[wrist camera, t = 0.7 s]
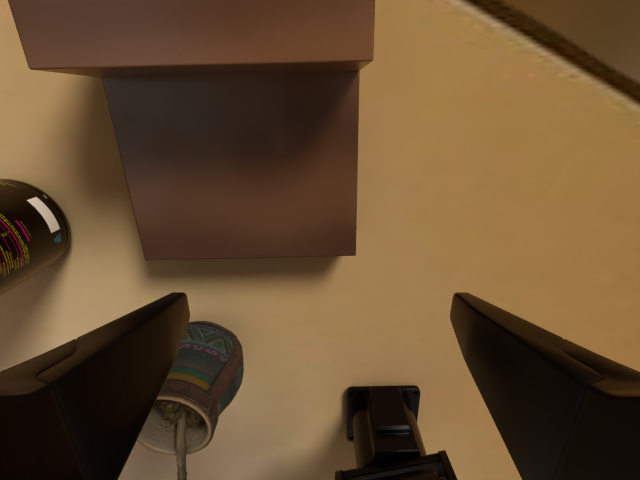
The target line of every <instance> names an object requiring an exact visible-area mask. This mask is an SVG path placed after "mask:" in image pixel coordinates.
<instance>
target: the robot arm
mask: <svg viewBox="0 0 640 480" xmlns="http://www.w3.org/2000/svg"><path fill="white" fill-rule="evenodd" d="M189 319H190V312H189V306H188V300H187V296H186V294H185V293H171V294H169V295H167V296H164V297H162V298H160V299H158V300H156V301H154V302H152V303H150V304H148V305H146V306H143V307H141V308H139V309H137V310H135V311H133V312H131V313H129V314H127V315H125V316H122V317H120V318H118V319H116V320H114V321H112V322H110V323H108V324H106V325H103V326H101V327H99V328H97V329H95V330H93V331H91V332H89V333H87V334H85V335H82V336H80V337H78V338H77V340H76V339H74V340H72V341H70V342H68V343H65V344H63V345H61V346H59V347H57V348H55V349H53V350H50V351H48V352H46V353H44V354H41V355H39V356H37V357H34V358H32V359H30V360H28V361H25V362H23V363H21V364H18V365H16V366H13V367H11V368H9V369H6V370H4V371H1V372H0V480H118V478H119V476H120V474H121V472H122V470H123V468H124V465H125V463H126V461H127V459H128V457H129V455H130V453H131V451H132V449H133V447H134V445H135V443H136V441H137V439H138V437H139V434H140V432H141V430H142V428H143V426H144V424H145V422H146V420H147V418H148V416H149V414H150V412H151V410H152V408H153V406H154V403H155V401H156V399H157V397H158V395H159V393H160V391H161V389H162V387H163V385H164V383H165V381H166V379H167V377H168V375H169V372H170V370H171V368H172V366H173V364H174V362H175V360H176V357H177V354H178V352H179V349H180V346H181V343H182V340H183V337H184V334H185V331H186V329H187V326H188V323H189ZM450 319H451V323H452V326H453V329H454V331H455V334H456V337H457V340H458V343H459V346H460V349H461V352H462V355H463V357H464V360H465V362H466V364H467V366H468V368H469V370H470V372H471V375H472V377H473V379H474V381H475V383H476V385H477V387H478V389H479V391H480V393H481V395H482V397H483V399H484V401H485V403H486V406H487V408H488V410H489V412H490V414H491V416H492V418H493V420H494V422H495V424H496V426H497V428H498V430H499V432H500V434H501V437H502V439H503V441H504V443H505V445H506V447H507V449H508V451H509V453H510V455H511V457H512V459H513V461H514V463H515V466H516V468H517V470H518V472H519V474H520V476H521V478H522V480H640V372H639V371H636V370H634V369H631V368H629V367H627V366H624V365H622V364H619V363H617V362H615V361H612V360H610V359H608V358H606V357H603V356H601V355H599V354H596V353H594V352H592V351H590V350H587V349H585V348H583V347H581V346H579V345H577V344H574V343H572V342H570V341H568V340H566V339H564V340H563V338H562V337H560V336H558V335H555V334H553V333H551V332H549V331H547V330H545V329H543V328H541V327H539V326H537V325H534V324H532V323H530V322H528V321H526V320H524V319H522V318H520V317H518V316H515V315H513V314H511V313H509V312H507V311H505V310H503V309H501V308H499V307H497V306H494V305H492V304H490V303H488V302H486V301H484V300H482V299H480V298H478V297H476V296H473V295H471V294H469V293H455V294H454V296H453V300H452V306H451V312H450ZM413 391H415V392H413ZM352 392H354V393H352ZM419 400H420V390H419V388H418V387H417V386H365V387H350V388H348V389H347V440H348V441H351V442H354V446H355V456H356V465H357V469H352V470H346V471H343V470H339V471H336V473H335V480H457V478H456V475H455V473H454V470H453V468H452V466H451V463H450V461H449V458H448V456H447V454H446V451H445V450H443V451H438V453H435V454H430V455H426V451H425V448H424V445H423V442H422V438H421V435H420V432H419V428H418V425H417V416H418V408H419Z"/></svg>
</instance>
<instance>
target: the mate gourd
mask: <svg viewBox="0 0 640 480" xmlns="http://www.w3.org/2000/svg"><path fill="white" fill-rule="evenodd" d="M243 371H244V368H243V353H242V347H241V344H240V342H239V340H238V339H237V337H236V336H235V335H234V334H233V333H232V332H231V331H229V330H227V329H225V328H224V327H222V326H220V325H218V324H215V323H212V322H206V321H195V322H189V323H188V326H187V329H186V331H185V334H184V337H183V340H182V343H181V346H180V349H179V352H178V354H177V357H176V360H175V362H174V364H173V366H172V368H171V370H170V372H169V375H168V377H167V379H166V381H165V383H164V385H163V387H162V389H161V391H160V393H159V395H158V397H157V399H156V401H155V403H154V406H153V408H152V410H151V412H150V414H149V416H148V418H147V420H146V422H145V424H144V426H143V428H142V430H141V432H140V434H139V437H138V439H137V441H138V442H139V443H141V444H142V445H143V446H145V447H147V448H149V449H151V450H153V451H156V452H159V453H163V454H168V455H177V462H178V463H177V466H178V472H177V473H178V475H177V476H178V480H187V477H186V476H187V472H186V454H191V453H194V452H197V451H199V450H201V449H203V448H204V447H206V446H207V445H208V444H209V442H210V441H211V439H212V437H213V434H214V431H215V428H216V425H217V421H218V416H219V415H220V414H221V413H222V411H223V410H224V409H225V408H226V407H227V406H228V405H229V404H230V403H231V401H232V400H233V398H234V397H235V395H236V393H237V391H238V390H239V388H240V385H241V383H242V378H243Z"/></svg>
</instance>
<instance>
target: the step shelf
mask: <svg viewBox="0 0 640 480" xmlns="http://www.w3.org/2000/svg"><path fill="white" fill-rule="evenodd" d="M8 2H9V5H10V8H11V11H12V15H13V18H14V21H15V24H16V28H17V31H18V34H19V37H20V40H21V44H22V47H23V50H24V53H25V57H26V60H27V63H28V66H29V68H30V69H31V70H39V71H48V72H58V73H67V74H76V75H85V76H95V77H102V81H103V85H104V89H105V93H106V97H107V101H108V106H109V110H110V114H111V118H112V122H113V126H114V131H115V135H116V139H117V143H118V147H119V151H120V156H121V160H122V164H123V168H124V172H125V177H126V181H127V185H128V189H129V193H130V197H131V202H132V206H133V210H134V214H135V218H136V222H137V227H138V231H139V235H140V239H141V243H142V247H143V252H144V256H145V260H175V259H220V258H266V257H312V256H355V255H356V219H357V168H358V117H359V70H361V69H362V68H363V67H365V66H366V65H368V64H369V63H370V62H372V61H373V50H374V19H375V0H8Z"/></svg>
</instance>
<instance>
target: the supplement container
mask: <svg viewBox="0 0 640 480" xmlns="http://www.w3.org/2000/svg"><path fill="white" fill-rule="evenodd" d="M69 241H70V228H69V223H68V220H67V218H66V216H65V214H64V212H63V211H62V209H61V208H60V206H59V205H58V204H57V203H56V202H55V201H54V200H53V199H52V198H51V197H50V196H49V195H48V194H46V193H45V192H44V191H42V190H40V189H39V188H37V187H35V186H33V185H31V184H28V183H25V182H21V181H17V180H11V179H0V296H1V295H3V294H4V293H6V292H8V291H9V290H11V289H13V288H14V287H16V286H17V285H19V284H21V283H22V282H24V281H26V280H27V279H29V278H30V277H32V276H34V275H35V274H37V273H39V272H40V271H42V270H43V269H45V268H47V267H48V266H50V265H51V264H53V263H55V262H56V261H58V260H59V259H60V258H61V257H62V256H63V255H64V253H65V251H66V250H67V247H68V245H69Z"/></svg>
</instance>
